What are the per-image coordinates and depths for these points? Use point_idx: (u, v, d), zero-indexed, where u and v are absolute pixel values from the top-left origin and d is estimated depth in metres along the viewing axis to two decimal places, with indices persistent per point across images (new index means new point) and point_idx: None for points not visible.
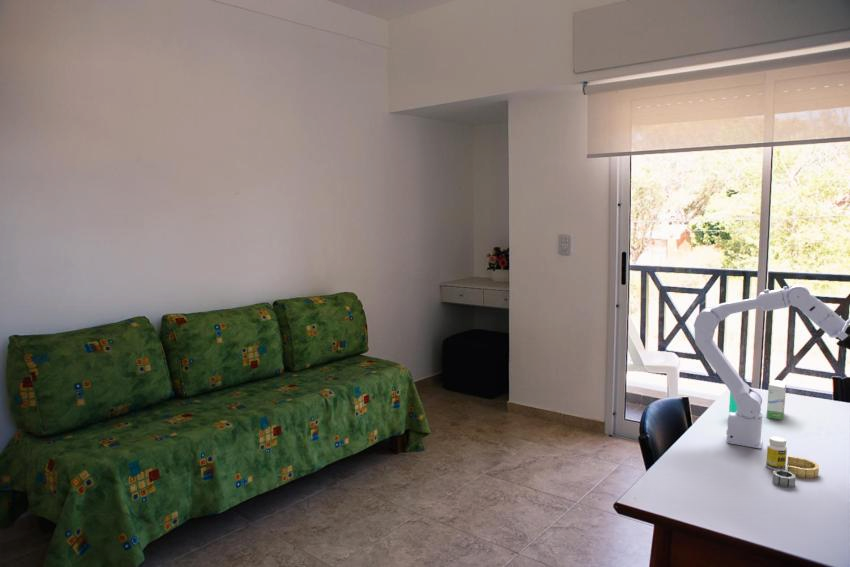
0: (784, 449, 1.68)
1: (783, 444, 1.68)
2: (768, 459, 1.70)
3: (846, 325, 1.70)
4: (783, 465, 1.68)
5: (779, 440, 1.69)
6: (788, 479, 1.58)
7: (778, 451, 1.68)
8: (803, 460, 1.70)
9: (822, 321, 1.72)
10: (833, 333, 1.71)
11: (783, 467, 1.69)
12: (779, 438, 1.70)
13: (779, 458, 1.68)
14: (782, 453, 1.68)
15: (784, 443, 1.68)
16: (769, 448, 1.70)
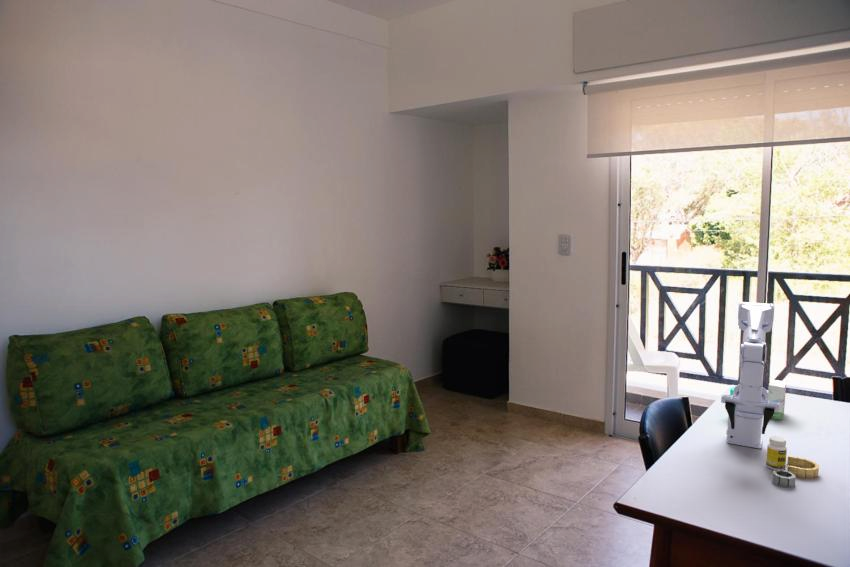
0: (784, 449, 1.68)
1: (783, 444, 1.68)
2: (768, 459, 1.70)
3: (739, 401, 1.71)
4: (783, 465, 1.68)
5: (779, 440, 1.69)
6: (788, 479, 1.58)
7: (778, 450, 1.68)
8: (803, 460, 1.70)
9: None
10: None
11: (783, 467, 1.69)
12: (779, 438, 1.70)
13: (779, 458, 1.68)
14: (782, 453, 1.68)
15: (784, 443, 1.68)
16: (769, 448, 1.70)
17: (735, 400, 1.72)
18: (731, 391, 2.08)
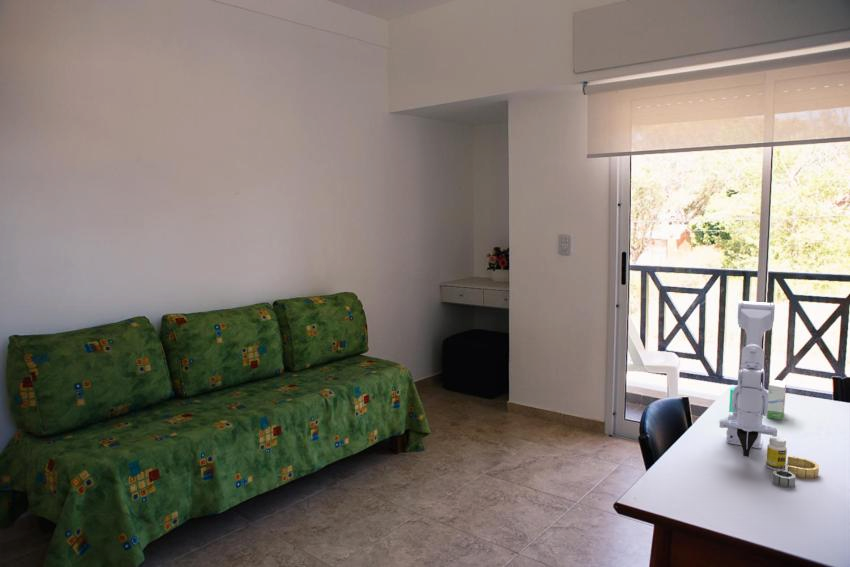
0: (784, 449, 1.68)
1: (783, 444, 1.68)
2: (768, 459, 1.70)
3: (738, 426, 1.72)
4: (783, 465, 1.68)
5: (779, 439, 1.69)
6: (788, 479, 1.58)
7: (778, 450, 1.68)
8: (803, 460, 1.70)
9: None
10: None
11: (783, 467, 1.69)
12: (779, 438, 1.70)
13: (779, 458, 1.68)
14: (782, 453, 1.68)
15: (784, 443, 1.68)
16: (769, 448, 1.70)
17: (733, 425, 1.73)
18: (731, 391, 2.08)
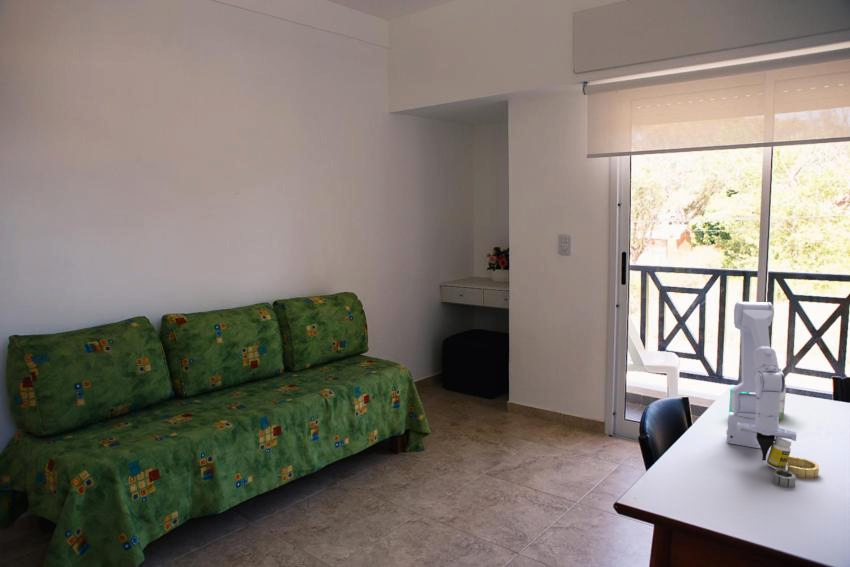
0: (788, 450, 1.67)
1: (788, 445, 1.67)
2: (770, 457, 1.70)
3: (756, 430, 1.70)
4: (784, 465, 1.68)
5: (785, 440, 1.68)
6: (788, 479, 1.58)
7: (782, 451, 1.67)
8: (803, 460, 1.70)
9: None
10: None
11: (784, 467, 1.68)
12: (785, 438, 1.69)
13: (781, 458, 1.68)
14: (785, 453, 1.67)
15: (789, 444, 1.67)
16: (773, 447, 1.69)
17: (751, 429, 1.71)
18: (731, 391, 2.08)
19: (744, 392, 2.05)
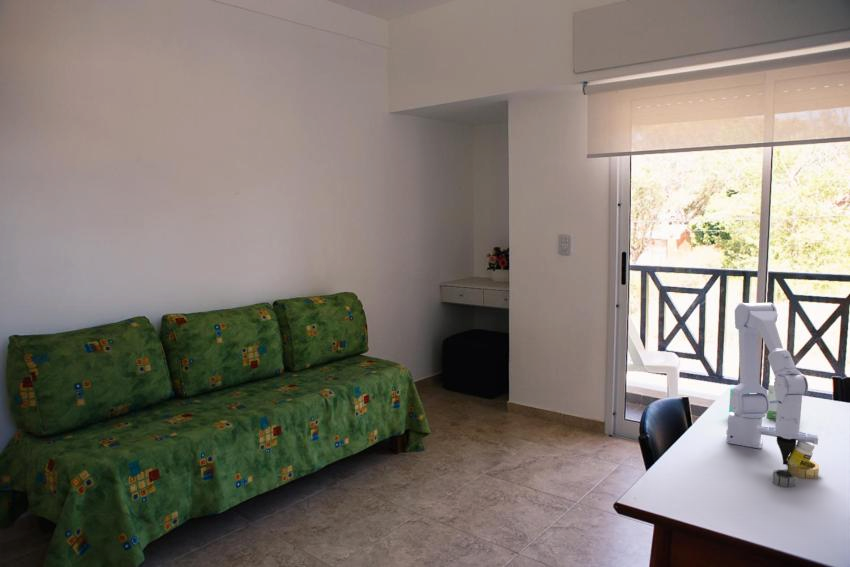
0: (810, 454, 1.65)
1: (811, 449, 1.65)
2: (790, 459, 1.67)
3: (776, 434, 1.68)
4: None
5: (808, 444, 1.65)
6: (788, 479, 1.58)
7: (804, 454, 1.65)
8: None
9: None
10: None
11: None
12: (808, 442, 1.66)
13: (802, 461, 1.65)
14: (807, 457, 1.65)
15: (812, 448, 1.65)
16: (795, 449, 1.66)
17: (772, 432, 1.68)
18: (731, 391, 2.08)
19: None
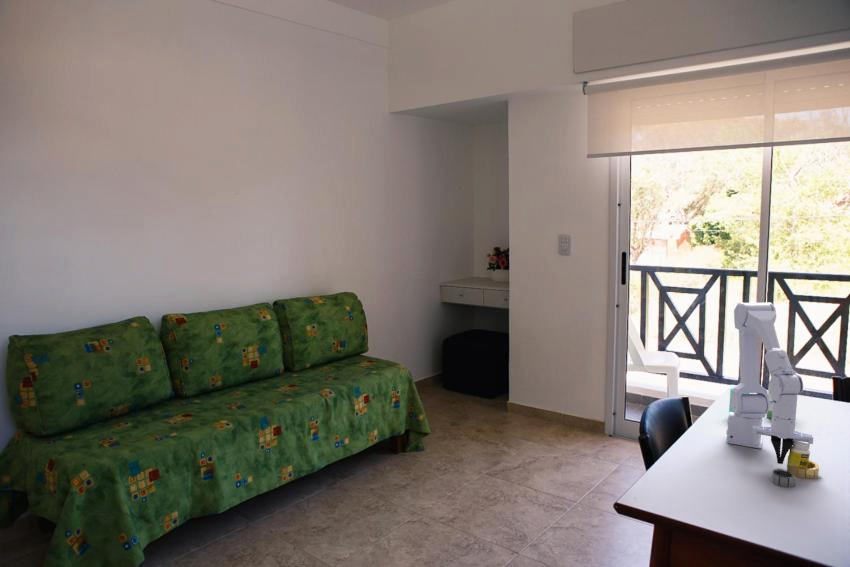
0: (807, 453, 1.65)
1: (807, 448, 1.65)
2: (790, 462, 1.68)
3: (772, 433, 1.68)
4: (805, 468, 1.66)
5: (803, 443, 1.66)
6: (788, 479, 1.58)
7: (801, 454, 1.65)
8: None
9: None
10: None
11: None
12: None
13: (801, 461, 1.65)
14: (805, 456, 1.65)
15: (808, 447, 1.65)
16: (792, 451, 1.67)
17: (767, 432, 1.69)
18: None
19: None
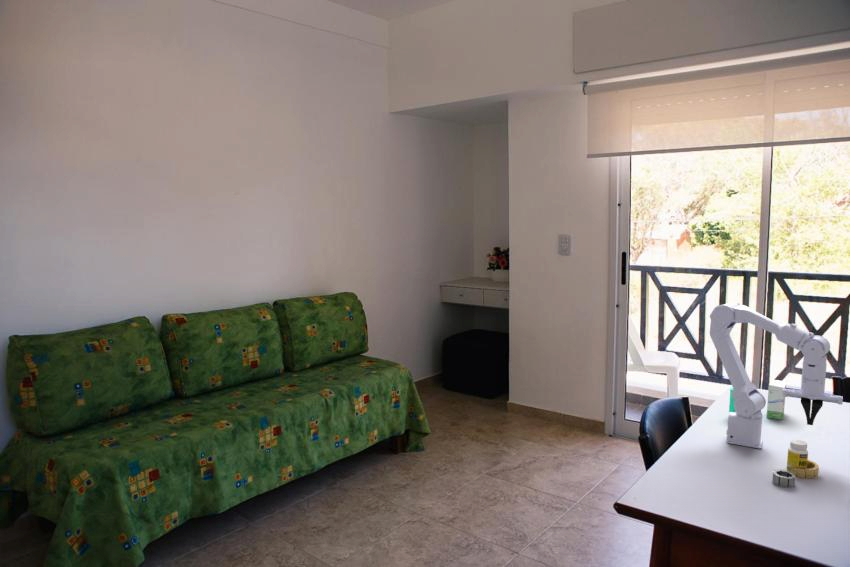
0: (805, 453, 1.65)
1: (804, 448, 1.65)
2: (789, 463, 1.68)
3: (802, 395, 1.73)
4: None
5: (800, 443, 1.66)
6: (788, 479, 1.58)
7: (799, 454, 1.65)
8: None
9: None
10: None
11: None
12: (800, 441, 1.68)
13: (800, 462, 1.66)
14: (803, 457, 1.65)
15: (805, 447, 1.66)
16: (790, 452, 1.67)
17: (797, 394, 1.74)
18: (731, 391, 2.08)
19: None
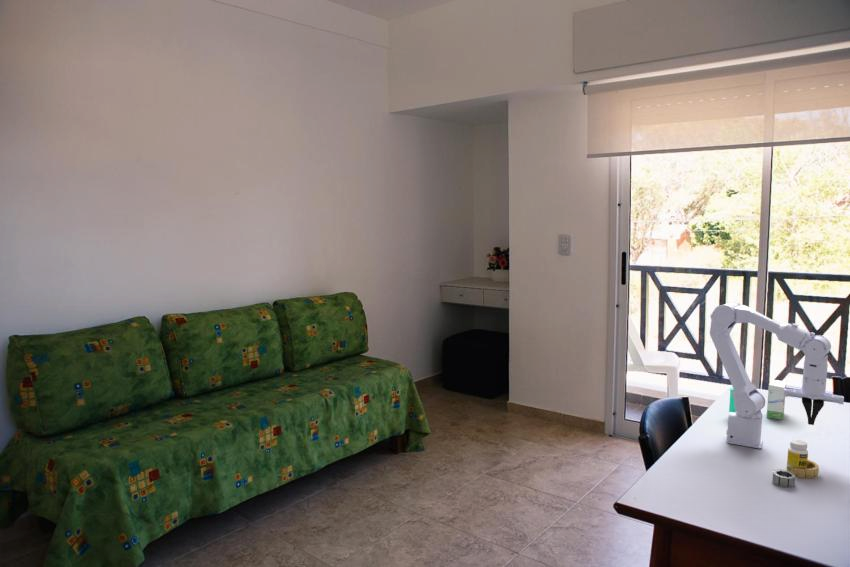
0: (805, 453, 1.65)
1: (804, 448, 1.65)
2: (789, 463, 1.68)
3: (803, 395, 1.74)
4: None
5: (800, 443, 1.66)
6: (788, 479, 1.58)
7: (799, 454, 1.65)
8: None
9: None
10: None
11: None
12: (800, 441, 1.68)
13: (800, 462, 1.66)
14: (803, 457, 1.65)
15: (805, 447, 1.66)
16: (790, 452, 1.67)
17: (798, 394, 1.74)
18: (731, 391, 2.08)
19: None
